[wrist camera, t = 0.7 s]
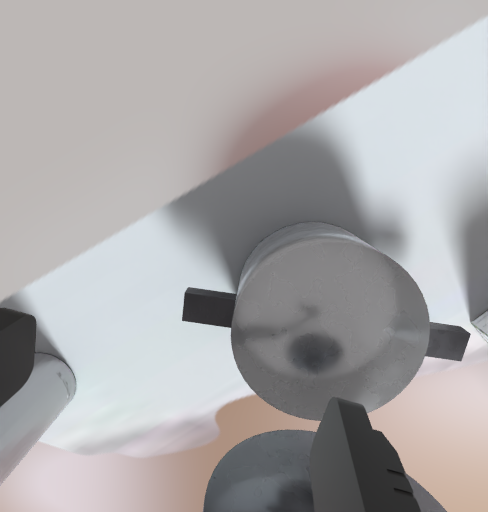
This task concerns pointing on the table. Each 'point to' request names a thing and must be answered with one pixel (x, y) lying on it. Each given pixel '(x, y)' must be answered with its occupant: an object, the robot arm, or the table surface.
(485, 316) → the syrup box
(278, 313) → the pot
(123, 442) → the table surface
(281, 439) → the lid
